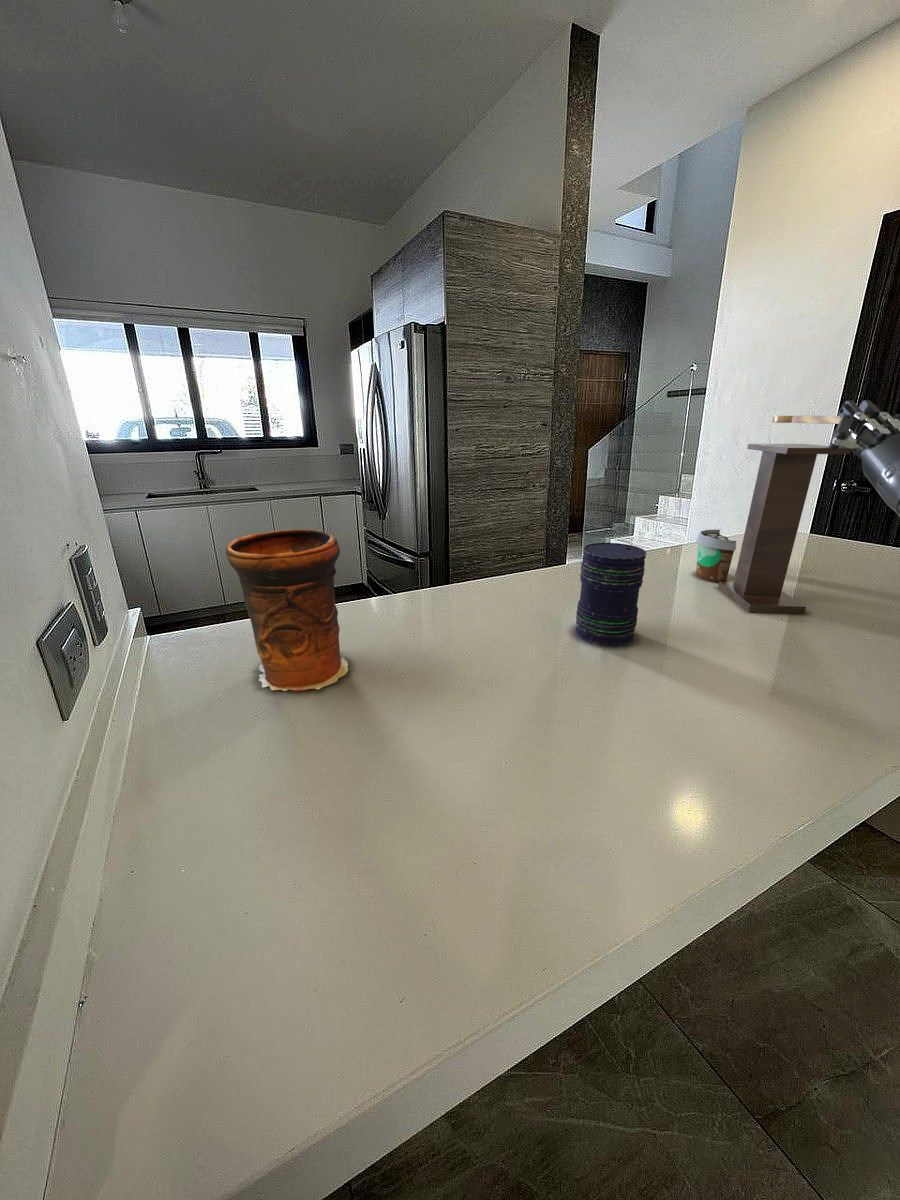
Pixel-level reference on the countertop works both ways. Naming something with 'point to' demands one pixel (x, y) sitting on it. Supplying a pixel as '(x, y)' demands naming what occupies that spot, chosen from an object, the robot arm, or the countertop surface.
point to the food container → (714, 556)
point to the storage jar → (609, 593)
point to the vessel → (291, 605)
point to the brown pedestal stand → (774, 527)
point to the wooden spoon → (808, 419)
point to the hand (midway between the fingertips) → (853, 406)
